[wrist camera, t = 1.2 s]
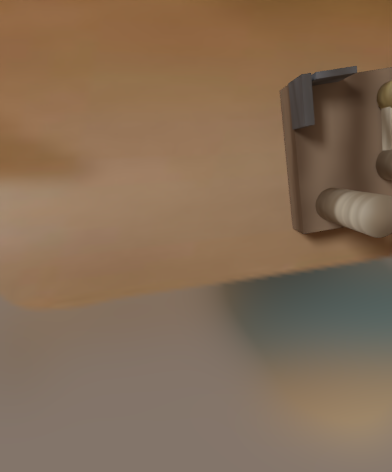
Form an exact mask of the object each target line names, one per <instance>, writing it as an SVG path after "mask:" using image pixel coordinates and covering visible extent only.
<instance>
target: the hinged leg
mask: <svg viewBox="0 0 392 472" xmlns="http://www.w3.org/2000/svg"><path fill="white" fill-rule="evenodd" d="M377 103H378V105H379V107H380V108H381V118H382V151H381V152H380V154H379V155H378V157H377V160H376V170H377V173H378V174H379V176H380V177H382V178H383V179H386V180H392V80H391V81H389V82H386V83H385V84H383V85H382V86H381V87H380V89H379V90H378V93H377Z"/></svg>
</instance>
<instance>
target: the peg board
mask: <svg viewBox="0 0 392 472" xmlns="http://www.w3.org/2000/svg"><path fill="white" fill-rule="evenodd" d="M391 80H392V67H390V68H384V69H378V70H371V71H365V72H359V73H357V66H353V67H346V68H340V69H334V70H327V71H321V72H315V73H314V74H312V75H311V73H308V74H302V75H300V76H299V77H297V78H296V79H294V80H293V81H291V82H290V83H288V85H287V86H286V87H284V88H283V89H281V90H280V98H281V109H282V120H283V130H284V141H285V151H286V162H287V172H288V183H289V194H290V204H291V215H292V225H293V229H295V230H297V231H299V232H301V233H303V234H307V233H312V232H318V231H324V230H330V229H335V228H341V227H347V228H350V229H353V230H355V231H358V232H361V233H364V234H367V235H369V236H372V237H376V238H380V237H385V236H388V235H390V234H391V233H392V180H386V179H383V178H382V177H380V176H379V174H378V173H377V170H376V160H377V157H378V155H379V154H380V152H381V151H382V118H381V108H380V107H379V105H378V103H377V93H378V90H379V89H380V87H381V86H382V85H383V84H385V83H386V82H389V81H391Z"/></svg>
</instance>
